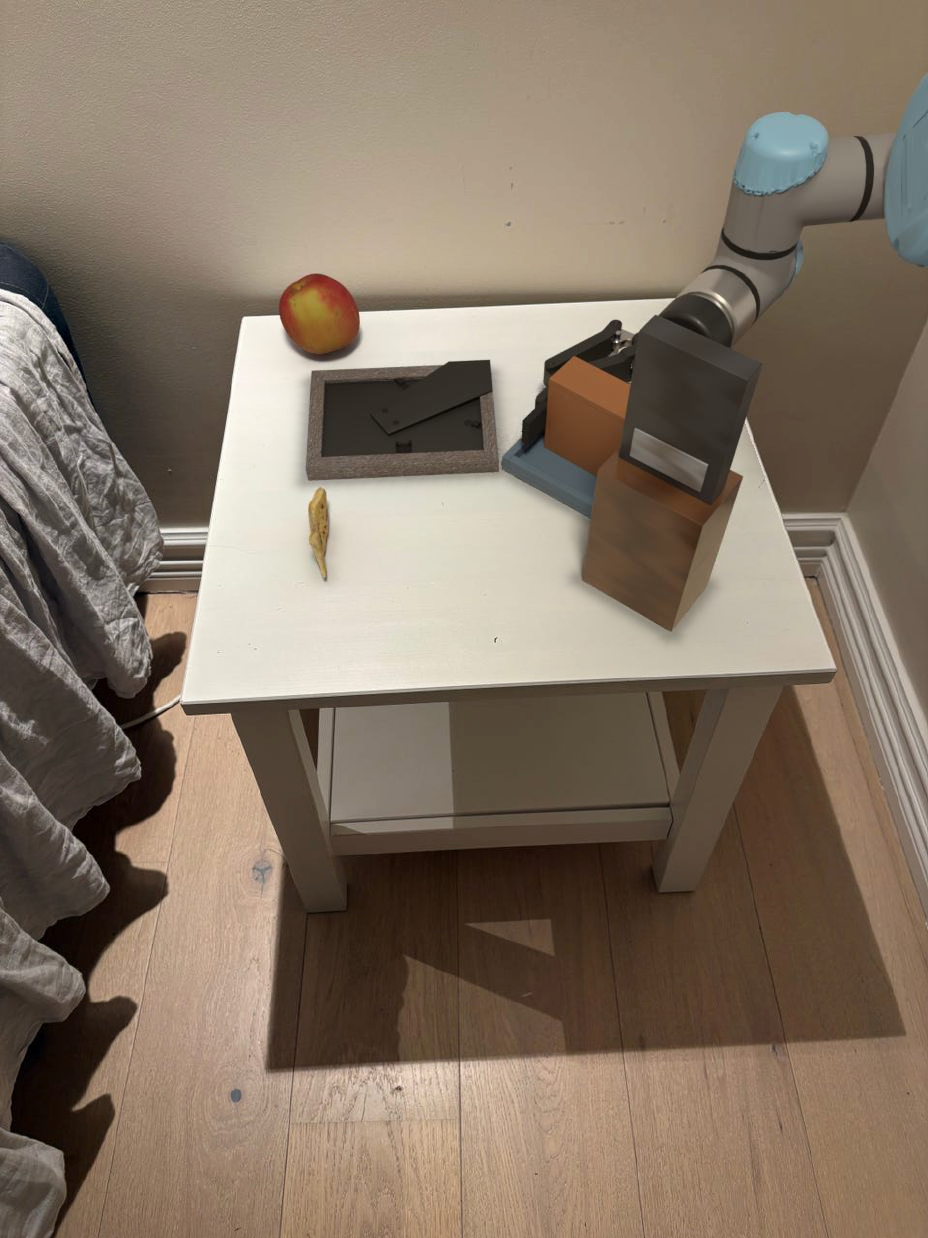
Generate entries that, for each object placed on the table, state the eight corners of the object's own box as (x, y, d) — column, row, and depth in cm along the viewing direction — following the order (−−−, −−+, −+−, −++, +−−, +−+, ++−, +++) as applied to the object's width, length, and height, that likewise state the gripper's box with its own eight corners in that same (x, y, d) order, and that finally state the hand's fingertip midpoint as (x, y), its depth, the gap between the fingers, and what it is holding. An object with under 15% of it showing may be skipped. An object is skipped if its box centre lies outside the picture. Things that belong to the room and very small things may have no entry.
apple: (340, 312, 105) (330, 247, 98) (374, 355, 101) (367, 291, 94) (275, 336, 103) (261, 272, 96) (308, 382, 99) (296, 318, 92)
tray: (689, 460, 92) (692, 447, 90) (623, 536, 87) (625, 524, 85) (570, 400, 97) (572, 386, 95) (501, 469, 92) (501, 455, 90)
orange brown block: (652, 471, 90) (666, 403, 83) (629, 495, 89) (642, 428, 82) (567, 424, 94) (574, 355, 87) (543, 447, 92) (548, 378, 85)
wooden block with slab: (707, 585, 84) (785, 348, 62) (671, 632, 81) (739, 401, 59) (619, 536, 87) (664, 295, 65) (581, 579, 84) (616, 342, 63)
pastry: (314, 510, 89) (306, 473, 85) (331, 509, 89) (323, 472, 85) (313, 587, 84) (304, 552, 80) (331, 586, 84) (323, 551, 80)
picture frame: (490, 374, 99) (313, 382, 99) (490, 359, 97) (310, 367, 97) (498, 471, 91) (308, 480, 91) (499, 456, 90) (304, 465, 89)
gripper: (794, 402, 95) (677, 545, 85) (600, 312, 103) (473, 433, 93) (816, 342, 89) (692, 488, 79) (608, 251, 97) (473, 374, 87)
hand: (574, 458), depth 86 cm, fingers open, 10 cm apart
